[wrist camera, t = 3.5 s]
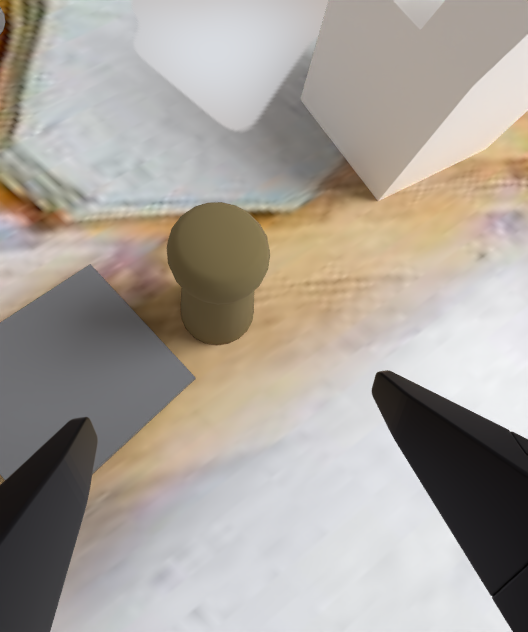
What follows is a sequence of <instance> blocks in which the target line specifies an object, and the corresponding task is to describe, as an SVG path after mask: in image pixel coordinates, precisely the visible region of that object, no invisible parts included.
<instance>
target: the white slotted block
mask: <svg viewBox="0 0 528 632" xmlns="http://www.w3.org/2000/svg"><path fill="white" fill-rule="evenodd" d="M300 100H301V101H302V103H303V104H304V105H305V107H306V108H307V109H308V110H309V112H310V113H311V114H312V116H313V117H314V118H315V120H316V121H317V122H318V123H319V125H320V126H321V127H322V129H323V130H324V131H325V133H326V134H327V135H328V137H329V138H330V139H331V140H332V142H333V143H334V144H335V146H336V147H337V148H338V150H339V151H340V152H341V154H342V155H343V156H344V157H345V159H346V160H347V161H348V163H349V164H350V165H351V167H352V168H353V169H354V170H355V172H356V173H357V174H358V176H359V177H360V178H361V180H362V181H363V182H364V184H365V185H366V186H367V187H368V189H369V190H370V191H371V193H372V194H373V195H374V197H375V198H376V199H377V200H378V201H379V200H382V199H384V198H386V197H388V196H390V195H392V194H394V193H396V192H398V191H400V190H402V189H404V188H406V187H409V186H411V185H413V184H415V183H417V182H419V181H421V180H423V179H425V178H427V177H429V176H431V175H433V174H436V173H438V172H440V171H442V170H444V169H446V168H448V167H450V166H452V165H454V164H456V163H458V162H460V161H462V160H465V159H467V158H469V157H471V156H473V155H475V154H477V153H479V152H481V151H483V150H485V149H486V148H487V147H489V146H490V145H491V144H492V143H493V142H494V141H495V140H496V139H497V138H498V137H499V136H500V135H502V134H503V133H504V132H505V131H506V130H507V129H508V128H509V127H510V126H511V125H512V124H513V123H515V122H516V121H517V120H518V119H519V118H520V117H521V116H522V115H523V114H524V113H525V112H526V111H528V0H328V4H327V7H326V11H325V15H324V18H323V21H322V25H321V28H320V32H319V35H318V39H317V42H316V46H315V49H314V53H313V56H312V60H311V63H310V67H309V70H308V74H307V77H306V81H305V84H304V88H303V91H302V95H301V98H300Z"/></svg>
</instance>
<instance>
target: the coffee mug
mask: <svg viewBox="0 0 528 632" xmlns="http://www.w3.org/2000/svg"><path fill="white" fill-rule="evenodd" d="M4 26H5V17H4V13H3V11H2V9H1V8H0V34H1V33H2V31H3V29H4Z"/></svg>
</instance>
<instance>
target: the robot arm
mask: <svg viewBox="0 0 528 632" xmlns="http://www.w3.org/2000/svg"><path fill="white" fill-rule="evenodd" d="M372 395H373V398H374V400H375V402H376V404H377V406H378V408H379V410H380V412H381V414H382V416H383V418H384V420H385V422H386V424H387V426H388V428H389V430H390V432H391V434H392V436H393V438H394V439H395V441H396V443H397V444H398V446H399V448H400V449H401V451H402V453H403V454H404V456H405V457H406V459H407V461H408V462H409V464H410V466H411V467H412V469H413V470H414V472H415V474H416V475H417V477H418V478H419V480H420V482H421V483H422V485H423V487H424V488H425V490H426V491H427V493H428V495H429V496H430V498H431V500H432V501H433V503H434V504H435V506H436V508H437V509H438V511H439V513H440V514H441V516H442V517H443V519H444V521H445V522H446V524H447V525H448V527H449V529H450V530H451V532H452V534H453V535H454V537H455V538H456V540H457V542H458V543H459V545H460V547H461V548H462V550H463V551H464V553H465V555H466V556H467V558H468V560H469V561H470V563H471V564H472V566H473V568H474V569H475V571H476V572H477V574H478V576H479V577H480V579H481V581H482V582H483V584H484V585H485V587H486V589H487V590H488V592H489V594H490V595H491V596H492V599H493V600H494V602H495V604H496V605H497V607H498V609H499V610H500V612H501V613H502V615H503V617H504V618H505V620H506V621H507V623H508V625H509V626H510V628H511V630H512V631H513V632H528V439H526V438H524V437H522V436H520V435H518V434H516V433H514V432H510V431H509V430H508V429H506V428H504V427H502V426H500V425H498V424H496V423H494V422H492V421H490V420H488V419H486V418H484V417H482V416H480V415H478V414H476V413H474V412H472V411H470V410H468V409H466V408H464V407H462V406H460V405H458V404H456V403H454V402H452V401H450V400H448V399H446V398H444V397H442V396H440V395H438V394H436V393H434V392H432V391H430V390H428V389H426V388H424V387H422V386H420V385H418V384H416V383H414V382H412V381H410V380H408V379H406V378H403V377H401V376H399V375H397V374H395V373H393V372H391V371H388V370H387V371H380V372H377V374H376V376H375V379H374V383H373V387H372ZM97 444H98V438H97V434H96V432H95V430H94V427H93V425H92V422H91V420H90V418H88V417H80V418H74V419H71V420H70V421H68V422H67V423H66V424H65V425H64V426H63V427H62V428H61V429H60V430H59V431H58V432H56V433H55V434H54V435H53V436H52V437H51V438H50V439H49V440H48V441H47V442H46V443H45V444H44V445H43V446H41V447H40V448H39V449H38V450H37V451H36V452H35V453H34V454H33V455H32V456H31V457H30V458H29V459H28V460H26V461H25V462H24V463H23V464H22V465H21V466H20V467H19V468H18V469H17V470H16V471H15V472H14V473H13V474H11V475H10V476H9V477H8V478H7V479H6V480H5V481H4V482H3V483H2V484H1V485H0V632H50V630H51V627H52V623H53V620H54V616H55V613H56V609H57V606H58V602H59V599H60V595H61V592H62V588H63V585H64V581H65V578H66V574H67V571H68V567H69V564H70V560H71V557H72V554H73V550H74V547H75V543H76V540H77V536H78V533H79V529H80V526H81V522H82V519H83V515H84V512H85V508H86V504H87V500H88V495H89V490H90V484H91V478H92V473H93V467H94V461H95V455H96V450H97Z"/></svg>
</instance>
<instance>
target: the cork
mask: <svg viewBox="0 0 528 632" xmlns="http://www.w3.org/2000/svg"><path fill="white" fill-rule="evenodd" d="M167 256H168V264H169V266H170V269H171V271H172V273H173V275H174V277H175V279H176V282H177V283H178V284H179V285H180V286H181V287H182V292H181V317H182V321H183V323H184V325H185V327H186V329H187V330H188V331H189V332H190V333H191V334H192V335H193V337H194V338H196V339H198V340H200V341H202V342H204V343H208V344H213V345H221V344H228V343H230V342H233V341H235V340H237V339H239V338H240V337H241V336H242V335H243V334H244V333H245V332H246V331H247V330H248V328H249V326H250V324H251V322H252V319H253V313H254V290H255V289H257V288H258V287H259V285H260V284H261V282H262V280H263V278H264V276H265V275H266V272H267V270H268V266H269V259H270V250H269V245H268V239H267V236H266V234H265V232H264V231H263V229H262V227H261V225H260V224H259V223H258V222H257V221H256V220H255V219H254V218H253V217H252V216H251V215H250V214H249V213H248V212H246V211H245V210H243V209H241V208H239V207H237V206H235V205H231V204H227V203H222V202H218V203H206V204H202V205H199V206H196V207H194V208H192V209H191V210H189V211H188V212H186V213H185V214H184V215H182V216H181V217H180V218H179V220H178V221H177V222H176V224H175V225H174V226H173V228H172V230H171V233H170V236H169V240H168V244H167Z"/></svg>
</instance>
